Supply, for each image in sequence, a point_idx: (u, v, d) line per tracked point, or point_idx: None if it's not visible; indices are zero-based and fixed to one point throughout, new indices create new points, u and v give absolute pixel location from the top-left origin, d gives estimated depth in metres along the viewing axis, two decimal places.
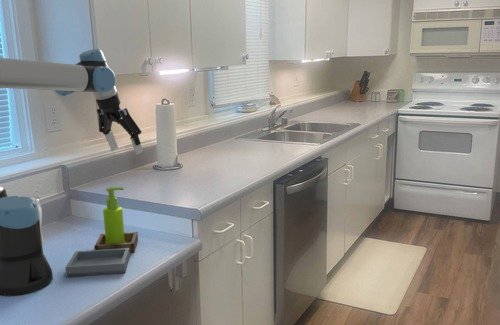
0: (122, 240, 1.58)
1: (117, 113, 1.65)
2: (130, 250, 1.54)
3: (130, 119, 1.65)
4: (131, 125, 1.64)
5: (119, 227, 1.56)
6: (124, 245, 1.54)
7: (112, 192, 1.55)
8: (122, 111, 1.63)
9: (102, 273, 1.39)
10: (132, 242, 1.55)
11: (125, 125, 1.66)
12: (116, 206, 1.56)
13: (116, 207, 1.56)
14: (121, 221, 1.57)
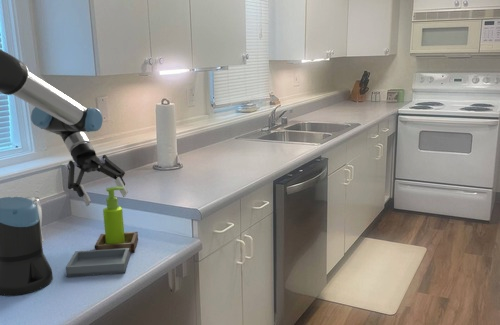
0: (122, 240, 1.58)
1: (99, 158, 1.68)
2: (130, 250, 1.54)
3: None
4: None
5: (119, 227, 1.56)
6: (124, 245, 1.54)
7: (112, 192, 1.55)
8: None
9: (102, 273, 1.39)
10: (132, 242, 1.55)
11: None
12: (116, 206, 1.56)
13: (116, 208, 1.56)
14: (121, 221, 1.57)
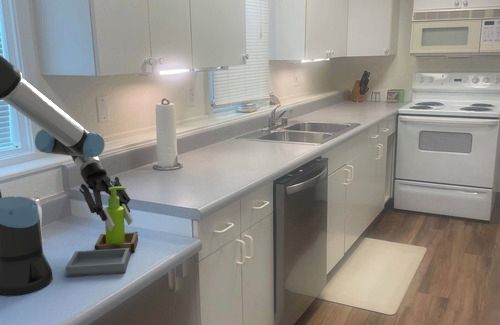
0: (122, 240, 1.58)
1: (109, 179, 1.63)
2: (130, 250, 1.54)
3: None
4: None
5: (119, 226, 1.56)
6: (124, 245, 1.54)
7: (114, 191, 1.55)
8: None
9: (102, 273, 1.39)
10: (132, 242, 1.55)
11: None
12: (118, 205, 1.56)
13: (118, 207, 1.56)
14: (122, 221, 1.57)
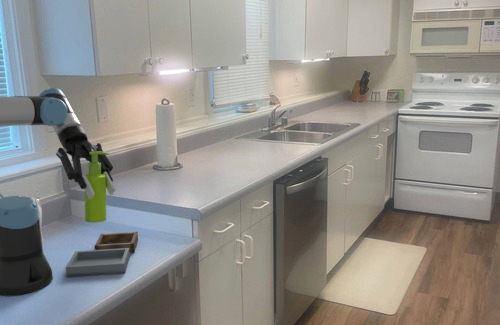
0: (103, 211, 1.42)
1: (91, 145, 1.47)
2: (130, 250, 1.54)
3: None
4: None
5: (100, 195, 1.40)
6: (124, 245, 1.54)
7: (96, 156, 1.40)
8: None
9: (102, 273, 1.39)
10: (132, 242, 1.55)
11: None
12: (99, 172, 1.40)
13: (99, 174, 1.40)
14: (104, 189, 1.41)
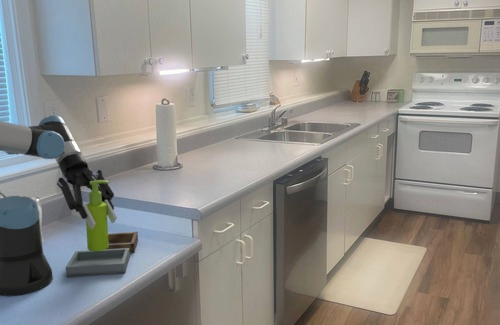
0: (105, 239, 1.42)
1: (91, 172, 1.47)
2: (130, 250, 1.54)
3: None
4: None
5: (102, 224, 1.40)
6: (124, 245, 1.54)
7: (96, 185, 1.40)
8: None
9: (102, 273, 1.39)
10: (132, 242, 1.55)
11: None
12: (100, 201, 1.40)
13: (100, 203, 1.40)
14: (105, 218, 1.41)
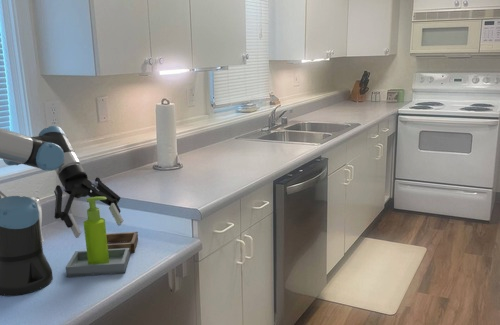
0: (105, 255, 1.43)
1: (91, 182, 1.48)
2: (130, 250, 1.54)
3: None
4: None
5: (101, 241, 1.41)
6: (124, 245, 1.54)
7: (93, 203, 1.40)
8: None
9: (102, 273, 1.39)
10: (132, 242, 1.55)
11: None
12: (98, 218, 1.41)
13: (98, 220, 1.41)
14: (104, 234, 1.42)
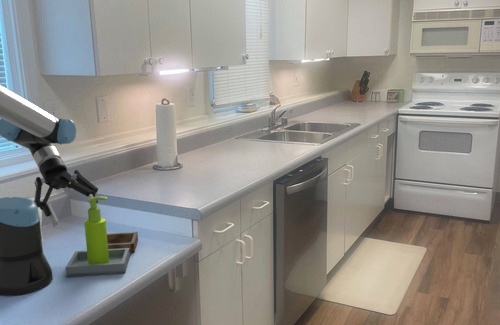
0: (105, 255, 1.43)
1: (70, 174, 1.57)
2: (130, 250, 1.54)
3: None
4: None
5: (101, 240, 1.41)
6: (124, 245, 1.54)
7: (94, 202, 1.40)
8: None
9: (102, 273, 1.39)
10: (132, 242, 1.55)
11: None
12: (99, 218, 1.41)
13: (98, 219, 1.41)
14: (104, 234, 1.42)
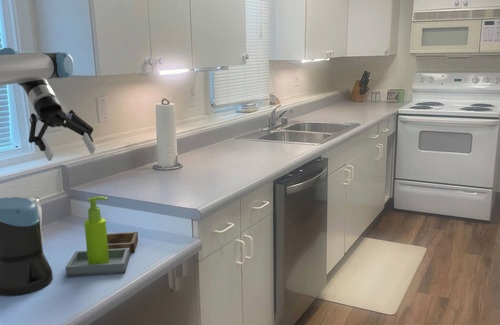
0: (105, 255, 1.43)
1: (65, 113, 1.56)
2: (130, 250, 1.54)
3: None
4: None
5: (101, 240, 1.41)
6: (124, 245, 1.54)
7: (94, 202, 1.40)
8: None
9: (102, 273, 1.39)
10: (132, 242, 1.55)
11: None
12: (99, 218, 1.41)
13: (98, 219, 1.41)
14: (104, 234, 1.42)
